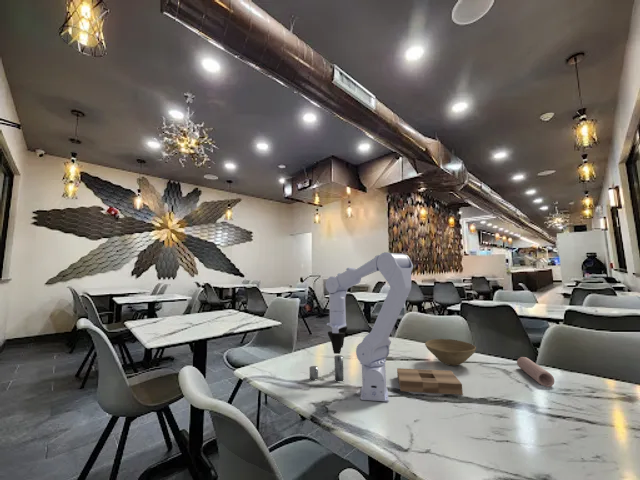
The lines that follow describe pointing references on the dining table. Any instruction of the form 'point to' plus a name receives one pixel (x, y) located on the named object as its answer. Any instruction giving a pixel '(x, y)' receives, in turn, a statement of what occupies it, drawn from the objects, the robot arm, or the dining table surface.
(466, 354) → the bowl
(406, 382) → the hole plate
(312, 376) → the short pin
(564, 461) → the dining table surface
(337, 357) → the tall pin
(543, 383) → the coil
